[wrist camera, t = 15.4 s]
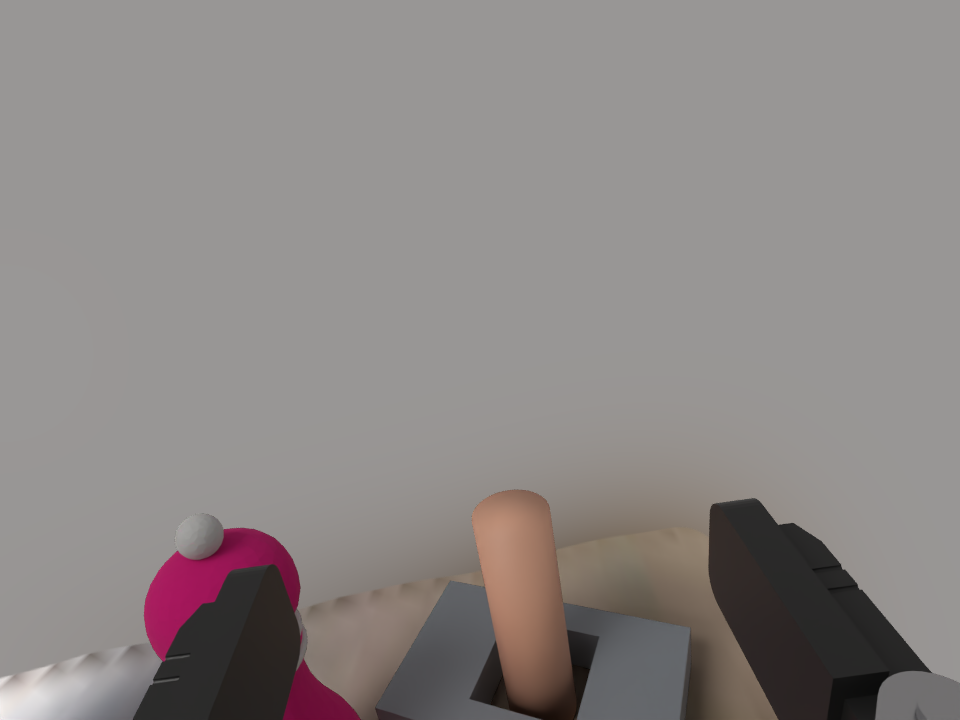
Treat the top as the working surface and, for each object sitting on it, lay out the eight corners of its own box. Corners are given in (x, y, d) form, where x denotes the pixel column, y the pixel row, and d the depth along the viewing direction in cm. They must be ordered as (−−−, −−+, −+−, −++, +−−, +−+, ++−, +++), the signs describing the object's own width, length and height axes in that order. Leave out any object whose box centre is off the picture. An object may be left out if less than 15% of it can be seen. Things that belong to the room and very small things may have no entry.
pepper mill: (394, 748, 35) (302, 455, 27) (383, 900, 28) (256, 568, 20) (271, 768, 35) (143, 481, 27) (230, 925, 28) (45, 603, 20)
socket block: (386, 742, 35) (375, 707, 34) (457, 612, 43) (450, 580, 42) (671, 839, 28) (670, 800, 27) (691, 663, 37) (690, 627, 35)
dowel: (500, 725, 35) (458, 533, 29) (522, 667, 38) (488, 486, 33) (566, 744, 33) (536, 545, 28) (584, 682, 37) (559, 493, 31)
